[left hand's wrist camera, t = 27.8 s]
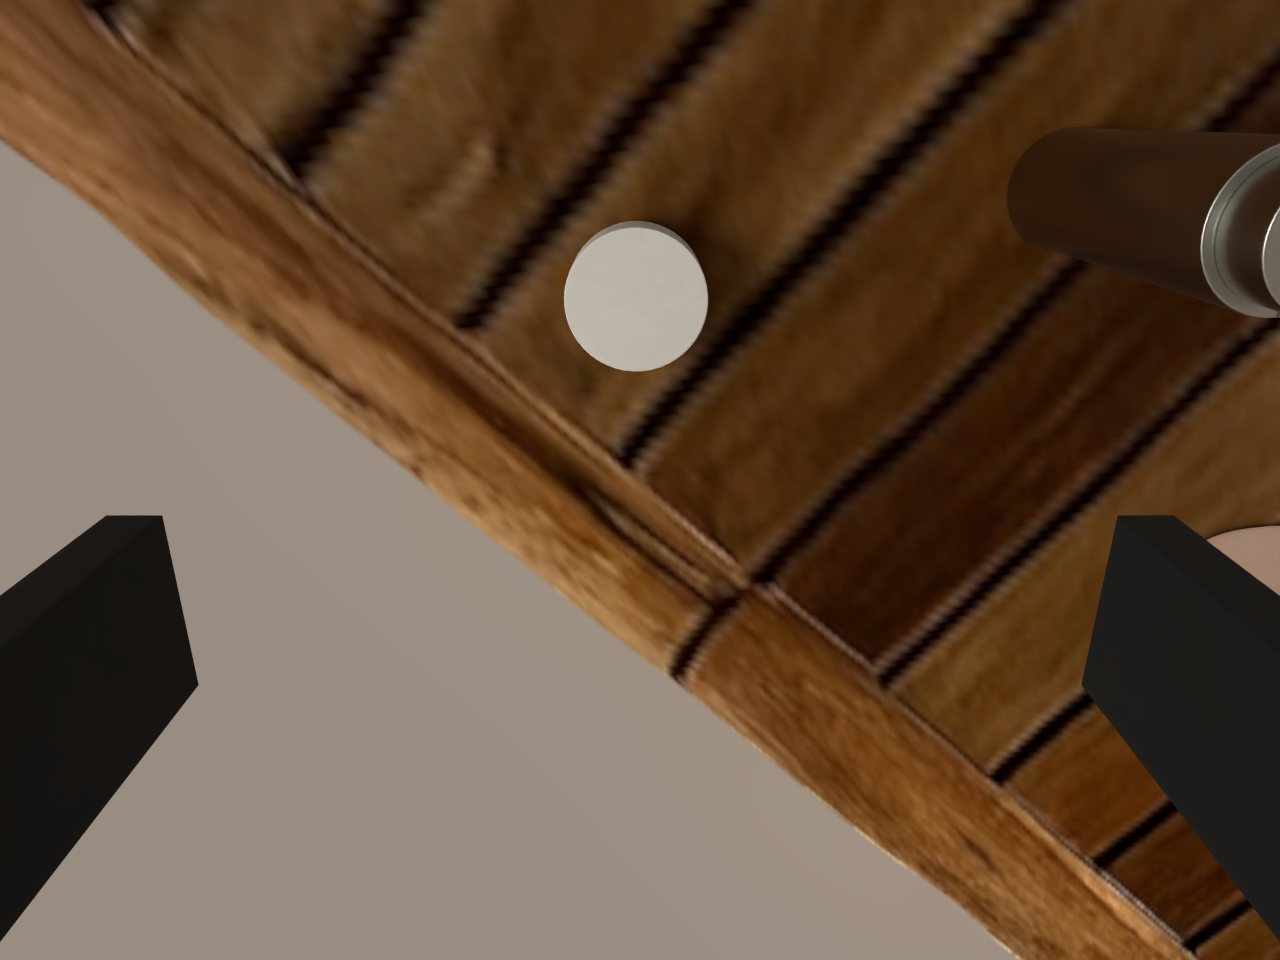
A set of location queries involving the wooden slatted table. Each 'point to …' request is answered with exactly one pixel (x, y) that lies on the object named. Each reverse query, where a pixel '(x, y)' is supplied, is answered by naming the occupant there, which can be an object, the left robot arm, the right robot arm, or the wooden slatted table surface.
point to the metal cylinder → (1160, 209)
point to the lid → (636, 296)
